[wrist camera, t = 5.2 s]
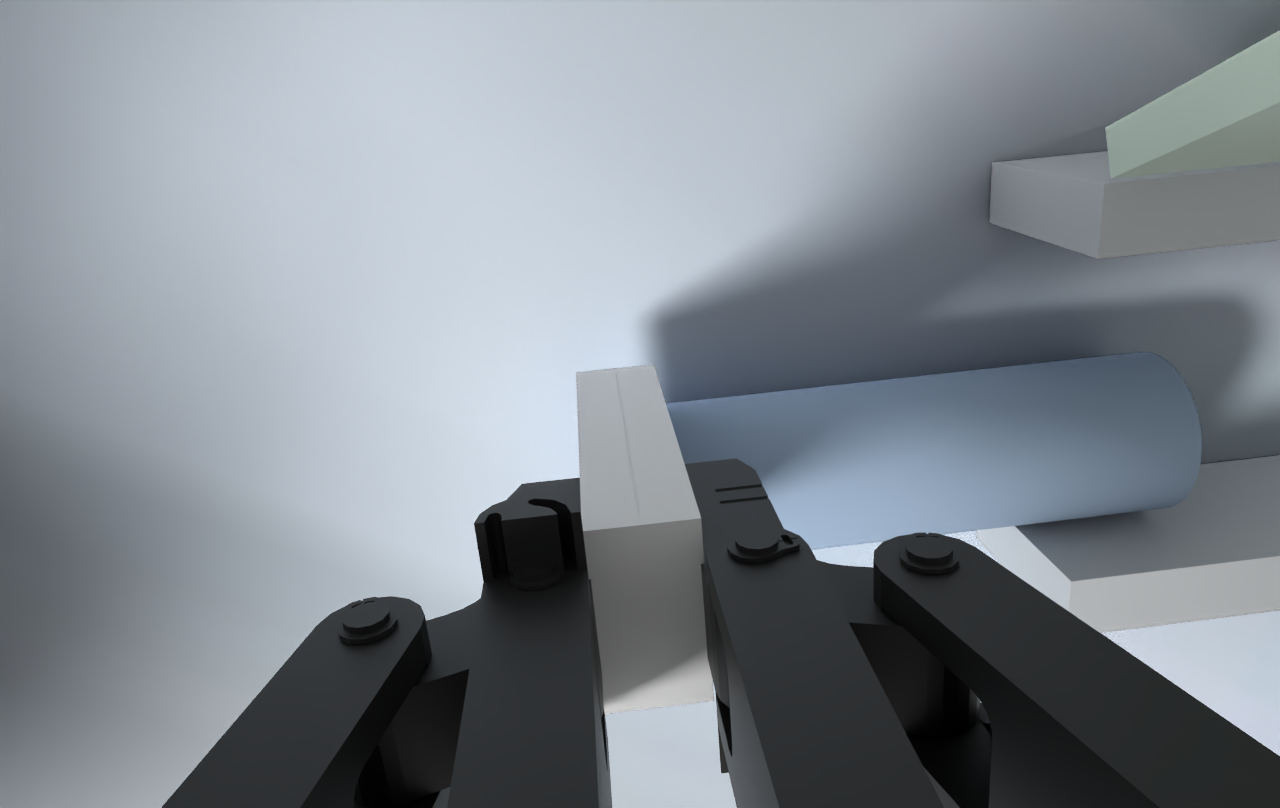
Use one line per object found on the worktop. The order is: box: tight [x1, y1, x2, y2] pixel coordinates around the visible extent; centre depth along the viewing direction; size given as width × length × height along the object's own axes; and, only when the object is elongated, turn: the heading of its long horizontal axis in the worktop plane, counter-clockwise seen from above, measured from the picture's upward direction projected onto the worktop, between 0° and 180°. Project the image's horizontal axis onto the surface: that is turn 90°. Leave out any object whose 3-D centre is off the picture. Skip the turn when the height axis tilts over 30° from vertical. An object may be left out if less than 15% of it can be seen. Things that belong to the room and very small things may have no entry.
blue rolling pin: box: [666, 352, 1202, 550], centre depth 18 cm, size 10×3×3 cm
